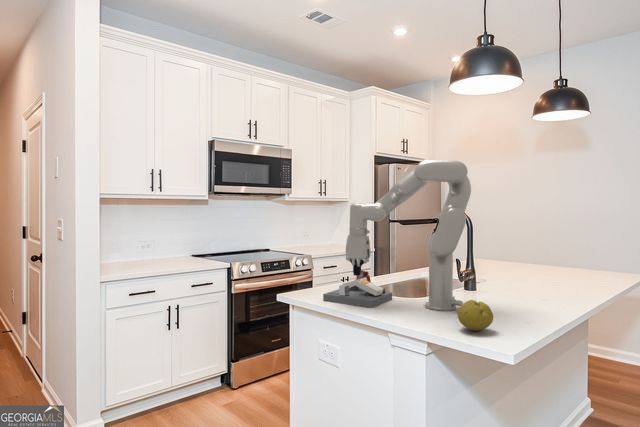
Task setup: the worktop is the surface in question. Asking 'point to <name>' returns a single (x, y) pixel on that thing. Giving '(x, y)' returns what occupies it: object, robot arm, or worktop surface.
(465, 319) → the fruit
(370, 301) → the panel
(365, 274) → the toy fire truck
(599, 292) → the worktop surface
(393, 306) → the worktop surface
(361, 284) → the rocker
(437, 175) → the robot arm
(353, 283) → the rocker
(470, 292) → the worktop surface
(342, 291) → the slider
